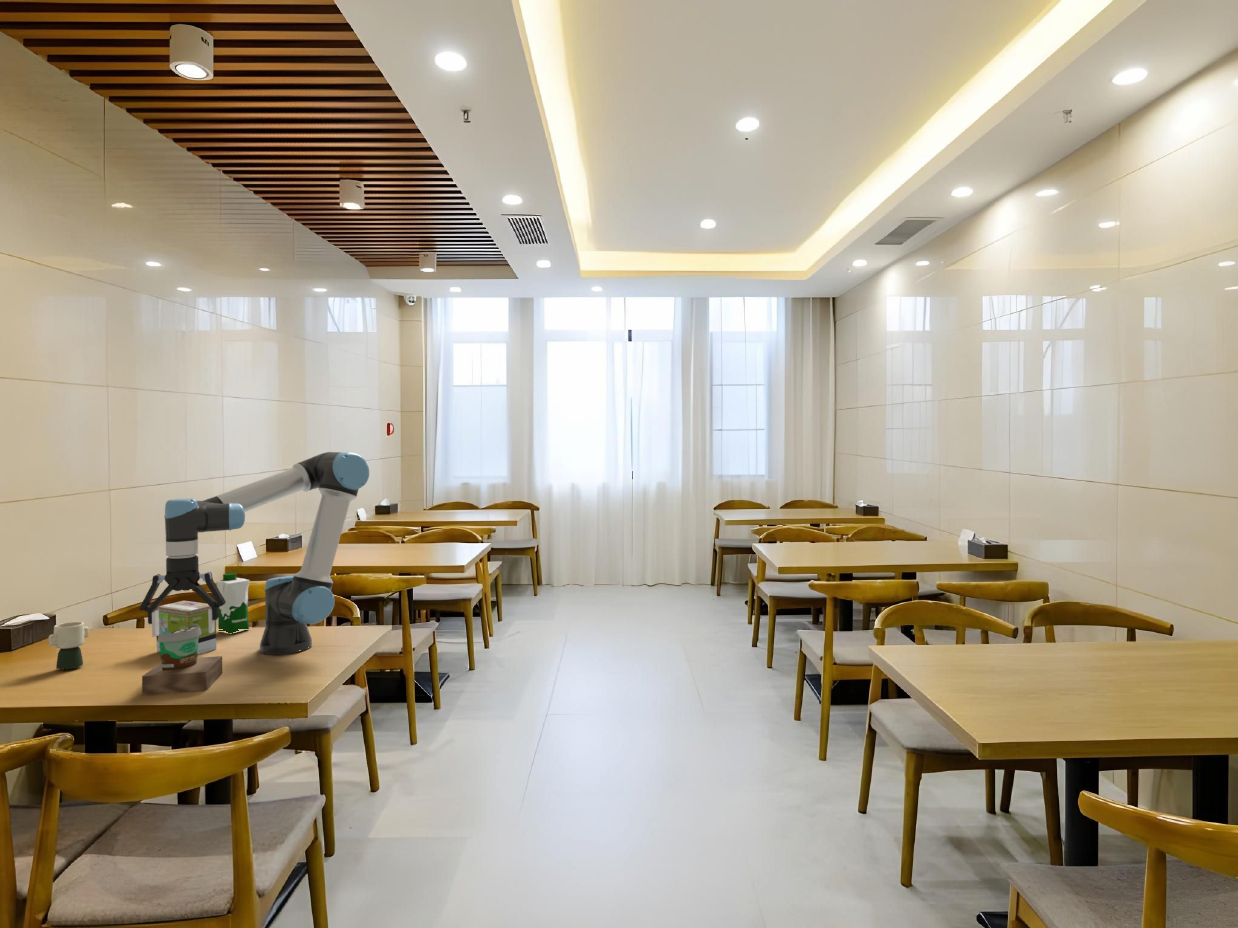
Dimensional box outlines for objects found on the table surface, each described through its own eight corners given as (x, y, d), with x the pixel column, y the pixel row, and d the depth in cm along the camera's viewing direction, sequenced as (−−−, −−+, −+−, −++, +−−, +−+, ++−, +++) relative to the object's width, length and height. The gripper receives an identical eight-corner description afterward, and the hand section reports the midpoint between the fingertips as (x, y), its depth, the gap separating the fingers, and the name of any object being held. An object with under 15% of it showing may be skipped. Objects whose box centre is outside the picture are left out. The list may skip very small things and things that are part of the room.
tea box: (155, 652, 228) (154, 605, 228) (184, 644, 237) (184, 599, 237) (188, 657, 222) (188, 609, 222) (217, 649, 231) (217, 603, 231)
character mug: (80, 662, 218) (79, 619, 217) (97, 664, 215) (96, 620, 215) (41, 672, 207) (40, 627, 207) (58, 675, 205) (57, 629, 205)
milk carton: (238, 627, 260) (237, 571, 260) (253, 630, 255) (252, 573, 255) (214, 632, 253) (213, 575, 252) (228, 635, 248) (227, 577, 247)
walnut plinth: (222, 673, 206) (222, 655, 206) (206, 690, 192) (206, 671, 192) (163, 677, 203) (162, 659, 203) (142, 695, 188) (142, 676, 188)
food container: (178, 673, 191) (177, 635, 190) (157, 671, 192) (157, 634, 191) (212, 659, 203) (211, 624, 202) (193, 658, 204) (192, 623, 204)
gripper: (236, 551, 203) (238, 627, 204) (135, 555, 197) (137, 633, 198) (229, 555, 196) (230, 633, 197) (124, 560, 190) (126, 640, 190)
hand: (184, 633), depth 197 cm, fingers open, 13 cm apart
